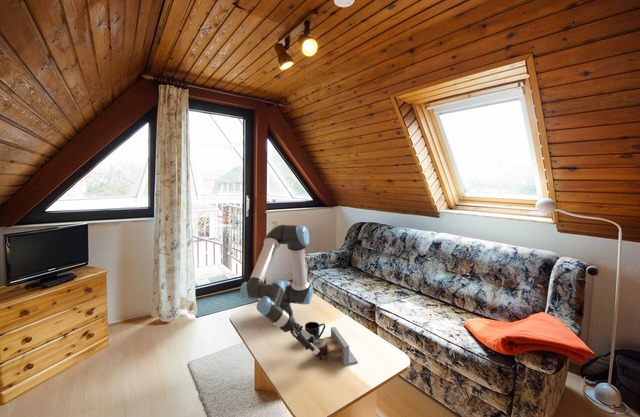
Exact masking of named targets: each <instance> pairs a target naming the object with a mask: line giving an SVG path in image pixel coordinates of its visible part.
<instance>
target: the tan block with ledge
mask: <svg viewBox="0 0 640 417" xmlns="http://www.w3.org/2000/svg"><path fill="white" fill-rule="evenodd" d="M322 339H323V340H324V341H325V343H326V348H327V351H326V354H327V355H326V356H325V357H326V359H327V360H328V362H329V364H330V365H333V364H338V363H342V348H341V347H340V345H339V344H338V342H337V341H336V339H335V338H334V337H333V336H331V335H330V336H327V337H322Z"/></svg>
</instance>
